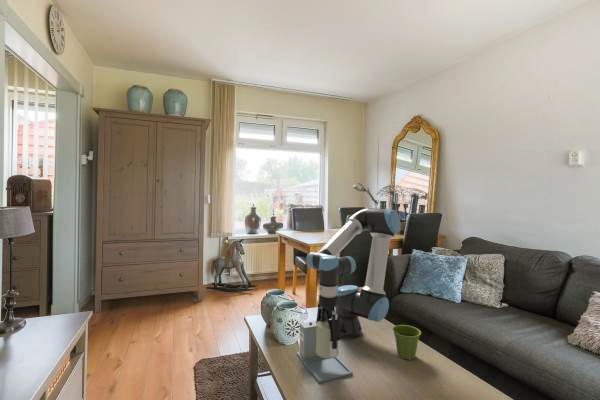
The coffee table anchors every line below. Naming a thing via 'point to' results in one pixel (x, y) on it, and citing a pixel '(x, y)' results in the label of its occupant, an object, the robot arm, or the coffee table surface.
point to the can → (323, 340)
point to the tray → (327, 369)
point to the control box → (308, 341)
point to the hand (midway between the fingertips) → (327, 350)
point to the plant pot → (406, 340)
